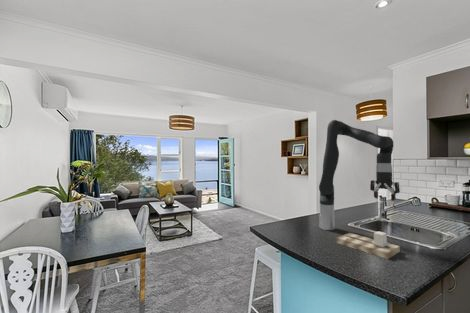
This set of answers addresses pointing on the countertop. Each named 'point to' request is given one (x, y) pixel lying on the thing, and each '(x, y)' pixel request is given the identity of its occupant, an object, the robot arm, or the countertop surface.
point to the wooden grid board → (368, 245)
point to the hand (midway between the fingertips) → (384, 199)
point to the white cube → (380, 239)
